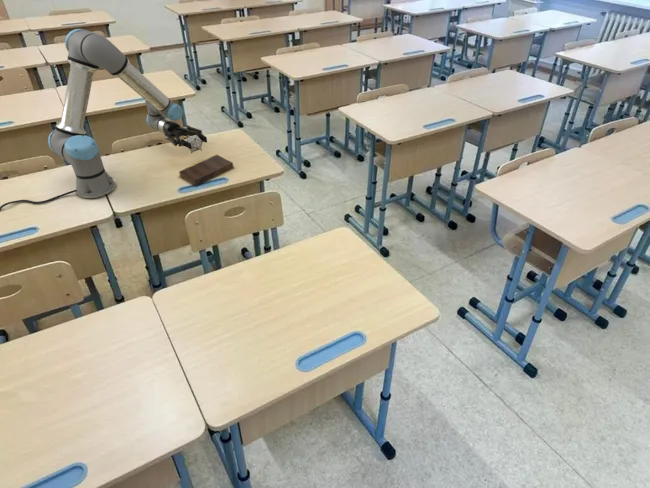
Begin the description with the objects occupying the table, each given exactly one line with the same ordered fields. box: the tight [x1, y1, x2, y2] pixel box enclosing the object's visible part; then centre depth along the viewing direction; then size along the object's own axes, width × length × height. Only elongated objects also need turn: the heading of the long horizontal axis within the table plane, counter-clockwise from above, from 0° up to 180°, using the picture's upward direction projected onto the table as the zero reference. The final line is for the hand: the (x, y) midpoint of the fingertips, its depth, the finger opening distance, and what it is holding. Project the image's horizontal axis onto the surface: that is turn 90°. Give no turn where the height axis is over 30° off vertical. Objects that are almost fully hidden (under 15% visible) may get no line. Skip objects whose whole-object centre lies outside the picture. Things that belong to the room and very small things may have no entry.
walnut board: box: [178, 154, 234, 187], centre depth 212 cm, size 22×12×3 cm, turn 139°
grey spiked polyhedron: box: [186, 134, 206, 154], centre depth 213 cm, size 9×8×10 cm
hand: (198, 143), depth 209 cm, fingers closed on grey spiked polyhedron, 8 cm apart
